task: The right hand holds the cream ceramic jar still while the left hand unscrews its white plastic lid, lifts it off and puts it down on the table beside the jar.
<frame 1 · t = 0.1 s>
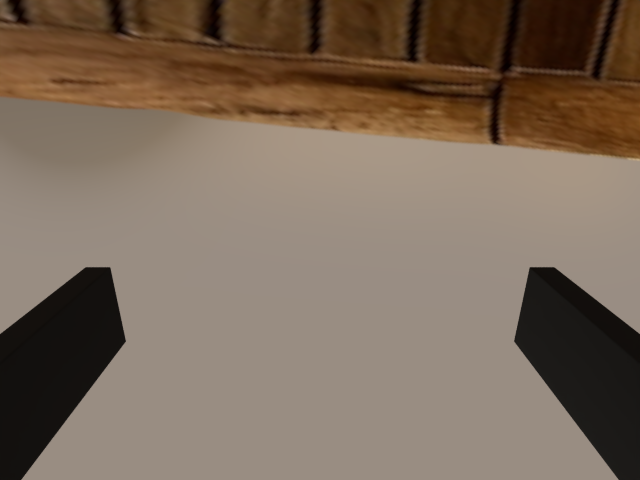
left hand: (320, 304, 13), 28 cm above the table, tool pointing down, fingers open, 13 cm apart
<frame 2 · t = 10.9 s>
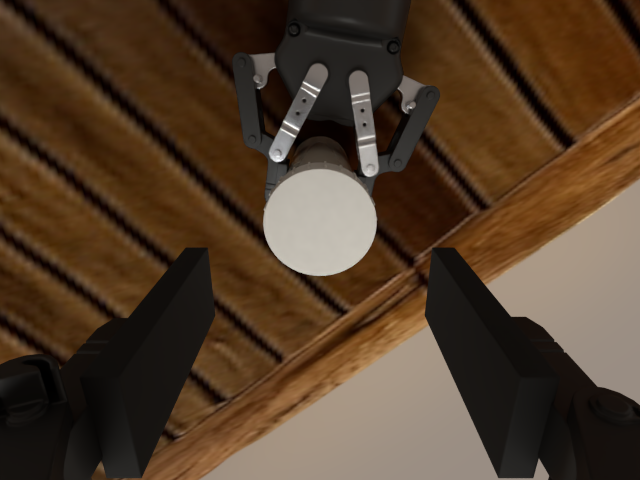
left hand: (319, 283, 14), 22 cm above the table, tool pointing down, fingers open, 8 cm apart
right hand: (314, 214, 30), fingers closed on jar, 5 cm apart
jar: (320, 164, 35), on the table, touching right hand
lid: (319, 222, 20), point 16 cm above the table, screwed on, not yet turned
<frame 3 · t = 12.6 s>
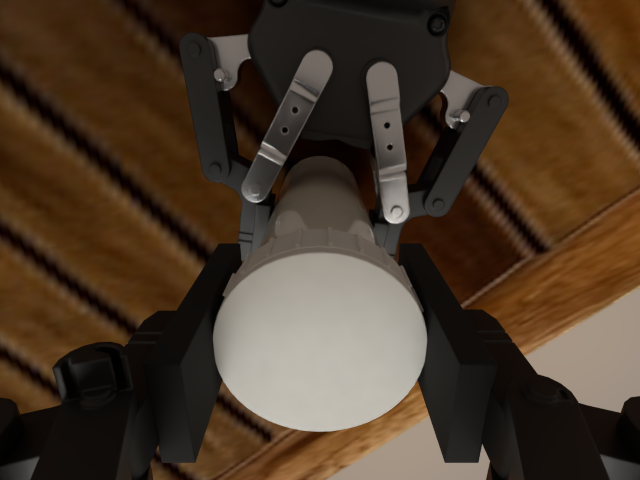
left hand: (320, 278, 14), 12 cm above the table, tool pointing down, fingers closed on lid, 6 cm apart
right hand: (312, 274, 21), fingers closed on jar, 5 cm apart
jar: (319, 194, 26), on the table, touching right hand
lid: (319, 342, 11), point 16 cm above the table, screwed on, not yet turned, touching left hand
when the left hand's fingers open (12 cm above the table, at t = 14.0 s): lid stays where it is, point 16 cm above the table.
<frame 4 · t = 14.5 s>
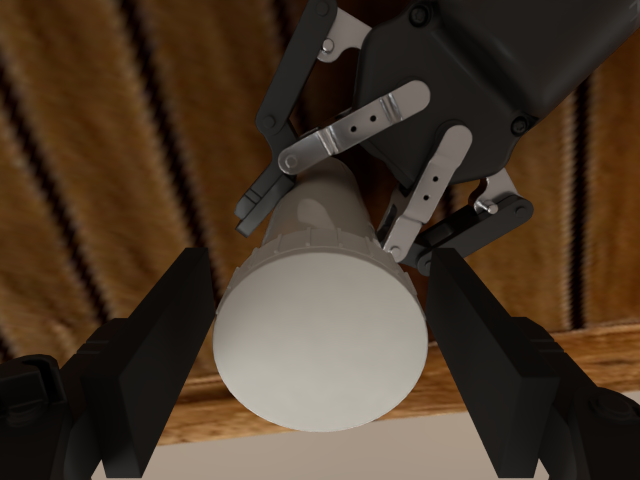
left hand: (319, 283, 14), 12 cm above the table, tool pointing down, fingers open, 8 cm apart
right hand: (287, 261, 21), fingers closed on jar, 5 cm apart
jar: (320, 193, 26), on the table, touching right hand
lid: (320, 343, 11), point 16 cm above the table, turned 77° so far, risen 0.2 cm, still on its thread
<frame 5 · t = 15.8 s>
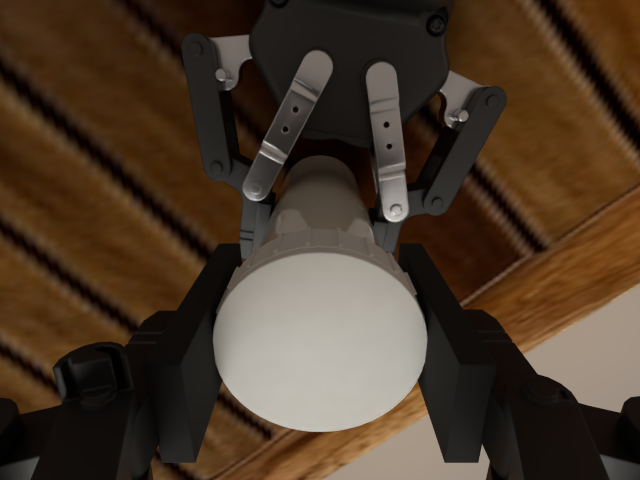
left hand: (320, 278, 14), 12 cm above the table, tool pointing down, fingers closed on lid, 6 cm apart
right hand: (312, 272, 21), fingers closed on jar, 5 cm apart
jar: (320, 193, 26), on the table, touching right hand
lid: (320, 343, 11), point 16 cm above the table, turned 77° so far, risen 0.2 cm, still on its thread, touching left hand
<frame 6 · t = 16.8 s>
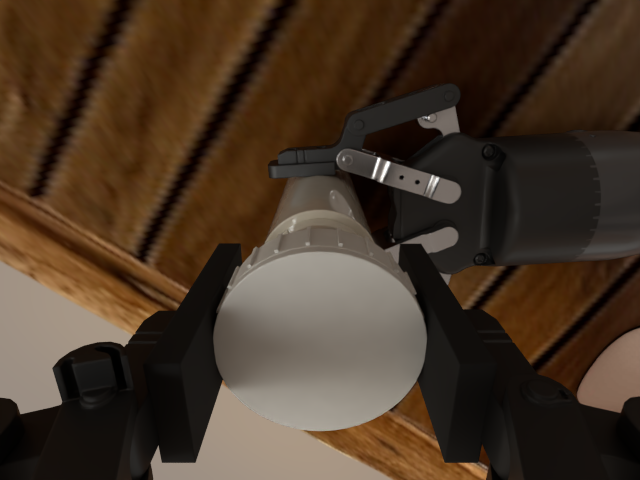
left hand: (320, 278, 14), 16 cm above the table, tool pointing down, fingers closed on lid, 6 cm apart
right hand: (276, 215, 24), fingers closed on jar, 5 cm apart
jar: (319, 188, 30), on the table, touching right hand
lid: (320, 342, 11), point 20 cm above the table, off its thread, touching left hand
when the left hand's fingers open (0 cm above the table, at t = 21.9 s): lid drops 3 cm, point 1 cm above the table.
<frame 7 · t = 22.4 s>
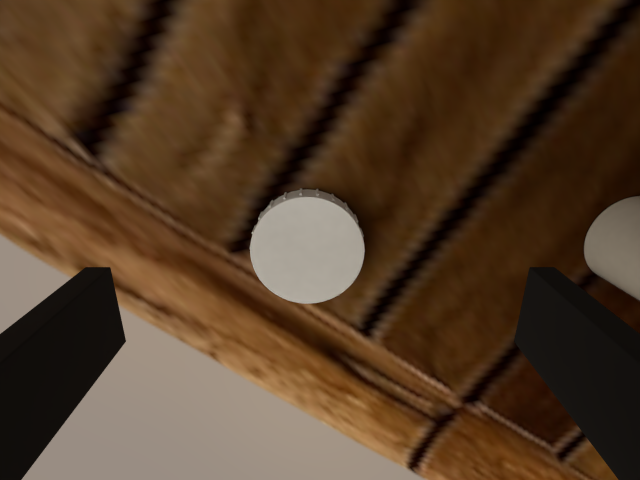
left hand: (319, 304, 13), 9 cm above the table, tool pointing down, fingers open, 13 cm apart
jar: (628, 239, 22), on the table, touching right hand
lid: (307, 250, 20), point 1 cm above the table, off its thread
when the right hand's fingers open (6 cm above the table, at t = 22.6 s): jar stays where it is, on the table.
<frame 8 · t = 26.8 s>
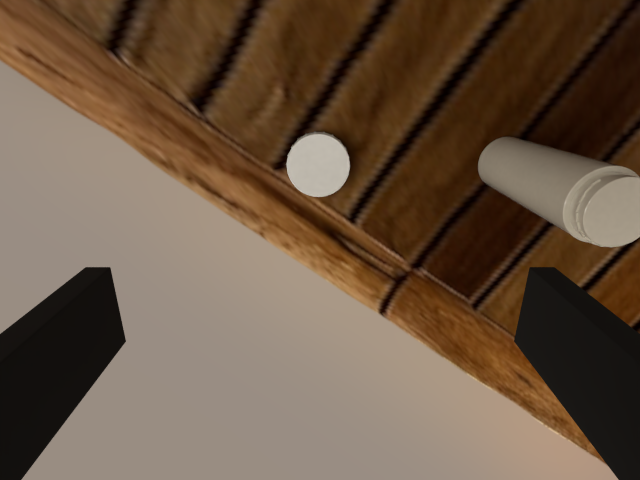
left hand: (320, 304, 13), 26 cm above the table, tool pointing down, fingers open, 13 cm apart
jar: (504, 163, 38), on the table
lid: (318, 165, 36), point 1 cm above the table, off its thread
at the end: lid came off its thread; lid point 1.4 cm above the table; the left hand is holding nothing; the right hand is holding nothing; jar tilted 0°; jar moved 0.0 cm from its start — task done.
